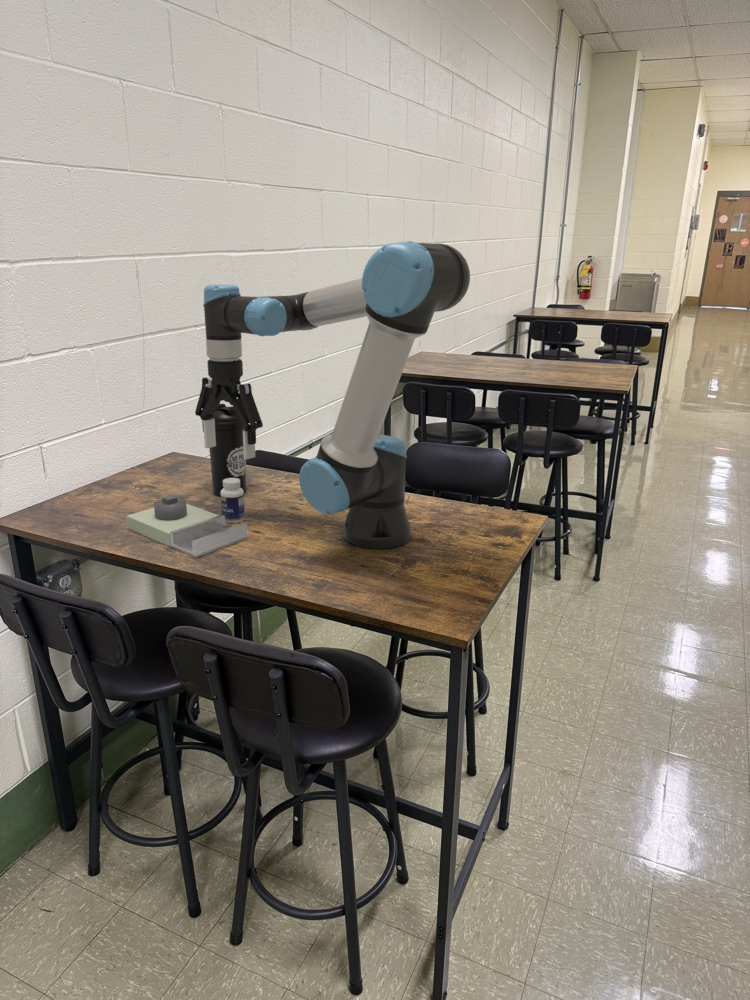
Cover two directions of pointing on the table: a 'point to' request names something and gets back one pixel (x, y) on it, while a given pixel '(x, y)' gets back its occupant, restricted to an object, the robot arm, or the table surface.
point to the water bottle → (227, 449)
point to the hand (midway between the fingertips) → (229, 452)
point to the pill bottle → (232, 501)
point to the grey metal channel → (207, 536)
